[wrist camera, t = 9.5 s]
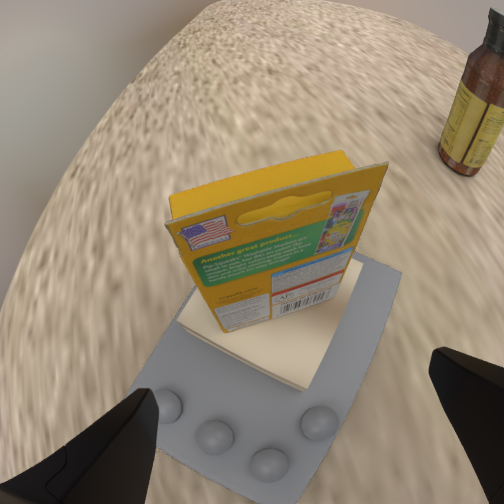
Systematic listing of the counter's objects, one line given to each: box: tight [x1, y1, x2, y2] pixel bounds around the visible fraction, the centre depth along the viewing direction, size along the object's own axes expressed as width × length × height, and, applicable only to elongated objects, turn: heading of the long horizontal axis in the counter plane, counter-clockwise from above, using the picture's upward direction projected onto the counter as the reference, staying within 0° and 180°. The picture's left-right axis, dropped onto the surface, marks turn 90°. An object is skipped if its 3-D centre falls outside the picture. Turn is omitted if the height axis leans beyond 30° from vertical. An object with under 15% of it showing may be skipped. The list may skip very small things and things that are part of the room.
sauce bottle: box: [439, 7, 504, 176], centre depth 21 cm, size 7×6×20 cm
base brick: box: [177, 258, 363, 392], centre depth 21 cm, size 9×9×3 cm
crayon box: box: [165, 150, 389, 333], centre depth 14 cm, size 7×3×12 cm, turn 107°
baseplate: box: [124, 251, 402, 504], centre depth 21 cm, size 20×14×2 cm
